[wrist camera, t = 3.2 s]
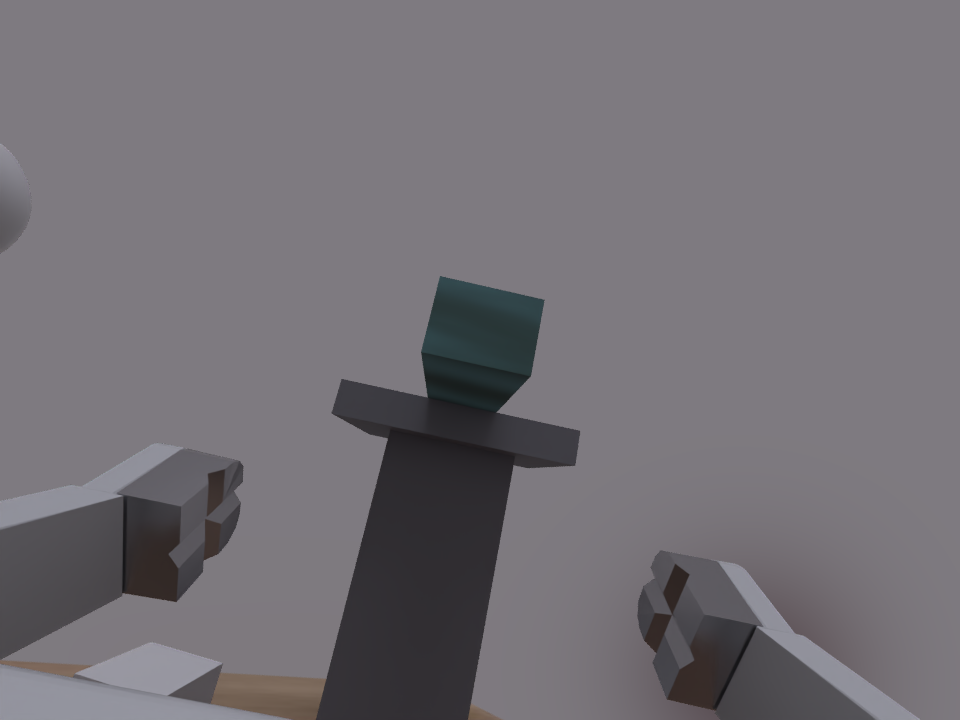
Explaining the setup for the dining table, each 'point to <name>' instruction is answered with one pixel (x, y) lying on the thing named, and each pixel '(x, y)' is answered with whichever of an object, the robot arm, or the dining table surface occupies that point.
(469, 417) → the pedestal
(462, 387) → the teal block
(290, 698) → the dining table surface
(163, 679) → the grey cube piece
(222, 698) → the dining table surface
